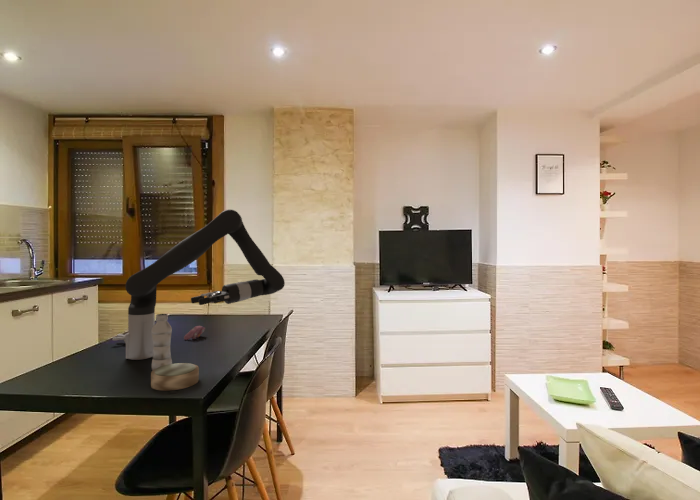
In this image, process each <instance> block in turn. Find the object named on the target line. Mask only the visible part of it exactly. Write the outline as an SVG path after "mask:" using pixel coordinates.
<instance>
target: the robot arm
mask: <svg viewBox="0 0 700 500" xmlns="http://www.w3.org/2000/svg"><path fill="white" fill-rule="evenodd" d="M227 235H229V236H230V237H231V238H232V239H233V241H234V242H235V243H236V244H237V246H238V247H239V249H240V251H241V252H242V254H243V256H244V257H245V259H246V261H247V263H248V264H249V265H250V267H251V269H252V270H253V271H254V273H255V274H256V275H258V276H261V277H262V279H251V280H245V281H237V282H233V283H228V284H224V285H223V286H222V287H221V290H214V291H210V292H207V293H201V294H200V295H197V296H193V297H190V303H191V304H196V303H197V304H198V305H199V306H203V305H207V304H217V303H222V302H224V303H225V304H226V305H231V304H234V303H239V302H242V301H246V300H249V299H253V298H257V297H259V296H267V295H273V294H275V293H278V292H280V291H281V290H283V289H284V287H285V279H284V276H283V275H282V273H280V272H279V271H278V270H277V269H276V268H275V267H274V266H273V265H271V263H270V261H268V258H267V257H266V256H265V255H264V253H263V252H262V250H261V249H260V248H259V246H258V245H257V244H256V243H255V242H254V240H253V239H252V237H251V236H250V234H249V233H248V231H247V228H246V227H245V224H244V222H243V218H242V216H241V215H240V213H239V212H238V211H237V210H234V209H225V210H222V211H221V212H220V213H219V214H218V215H216V216H215V217H214V218H213V219H212V220H211V221H210V222H209V223H207V224H206V225H205V226H204V227H202V228H200V229H199V230H197V231H195V232H194V233H192V234H191V235H189V236H187V237H185V238H184V239H183V240H181V241H179V242H178V243H177V244H176V245H174V246H173V247H171V248H170V249H169V250H167V251H166V252H165V253H164V254H162V255H161V256H160V257H159V258H158V259H157V260H155V261H154V262H152V264H150V265H148V266H147V267H144V268H143V269H141V270H139V271H137V272H136V273H134V274H132V275H130V276H129V277H128V278H127V280H126V282H125V290H126V292H127V294H129V295H130V303H129V306H128V308H127V314H128V315H127V319H128V320H127V322H128V323H127V325H128V327H127V332H126V333H125V334H126V343H125V359H128V360H133V361H134V360H136V361H138V360H146V359H150V358H153V338H152V331H151V330H152V328H153V326H154V325H155V323H156V322H155V321H156V315H155V312H156V311H155V310H156V309H155V307H156V305H157V286H158V284H160V282H161V283H162V281H163V280H165V279H166V278H168V277H169V276H172V275H174V274H175V273H177V272H179V271H181V270H183V269H184V268H186V267H188V266H190V265H191V264H192V263H194V262H195V261H196V260H197V259H199V258H200V257H201V256H203V255H204V254H205V253H206V252H207V251H208V250H209V249H210V248H211V247H212V246H213V245H214V244H215V243H216V242H218V241H219V240H221V239H222V238H224V237H225V236H227Z"/></svg>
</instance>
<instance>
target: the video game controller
mask: <svg viewBox="0 0 700 500" xmlns="http://www.w3.org/2000/svg"><path fill="white" fill-rule="evenodd" d="M205 331H206V327H204V326H202V325H196V326H194V327H193V328H191V329H190V330H189V332H187V333H186V334H185V335H184V337H183V339H184V341H188V340H190V339H193V340H195V339H197V338H200V336H201V335H202V334H203V333H204V332H205Z"/></svg>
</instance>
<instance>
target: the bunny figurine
mask: <svg viewBox="0 0 700 500" xmlns="http://www.w3.org/2000/svg"><path fill="white" fill-rule="evenodd" d="M126 334H127V333H125V334H121V333H118V334H116V336H115V337H112V341H115V342H116V341H123V342H124V344H126Z"/></svg>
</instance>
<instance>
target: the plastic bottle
mask: <svg viewBox="0 0 700 500" xmlns="http://www.w3.org/2000/svg"><path fill="white" fill-rule="evenodd" d="M168 316H169V315H168V313H157V314H156V315H155V321H156V322H155V325H154V326H153V328H152V330H151V331H152V338H153V357H152V360H151V365H150V366H151V370H152V371H153V370H154V369H157V368H159V367H161V366H164V365H169V364H173V360H172V355H171V339H172V333H173V331H172V330H173V328H172V326H171V324H170V323H169V321H168V320H169V318H168Z"/></svg>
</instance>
